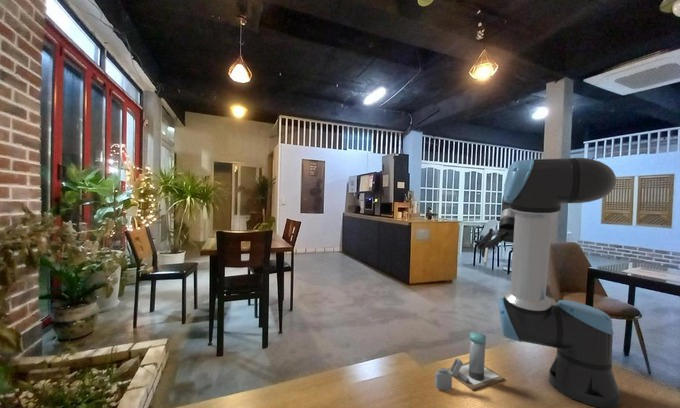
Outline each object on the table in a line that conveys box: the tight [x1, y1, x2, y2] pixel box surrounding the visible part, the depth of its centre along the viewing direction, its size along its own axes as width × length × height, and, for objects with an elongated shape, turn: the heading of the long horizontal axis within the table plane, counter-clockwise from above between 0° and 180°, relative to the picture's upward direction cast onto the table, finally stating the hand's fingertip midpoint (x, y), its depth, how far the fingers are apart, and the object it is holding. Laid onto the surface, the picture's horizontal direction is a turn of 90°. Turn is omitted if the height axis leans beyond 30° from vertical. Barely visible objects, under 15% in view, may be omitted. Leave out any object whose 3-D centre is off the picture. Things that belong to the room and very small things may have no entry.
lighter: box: [434, 357, 464, 391], centre depth 78 cm, size 7×2×8 cm, turn 92°
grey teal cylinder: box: [468, 331, 487, 381], centre depth 82 cm, size 4×4×12 cm
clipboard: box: [446, 361, 505, 392], centre depth 84 cm, size 10×13×2 cm
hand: (506, 266), depth 99 cm, fingers open, 13 cm apart
